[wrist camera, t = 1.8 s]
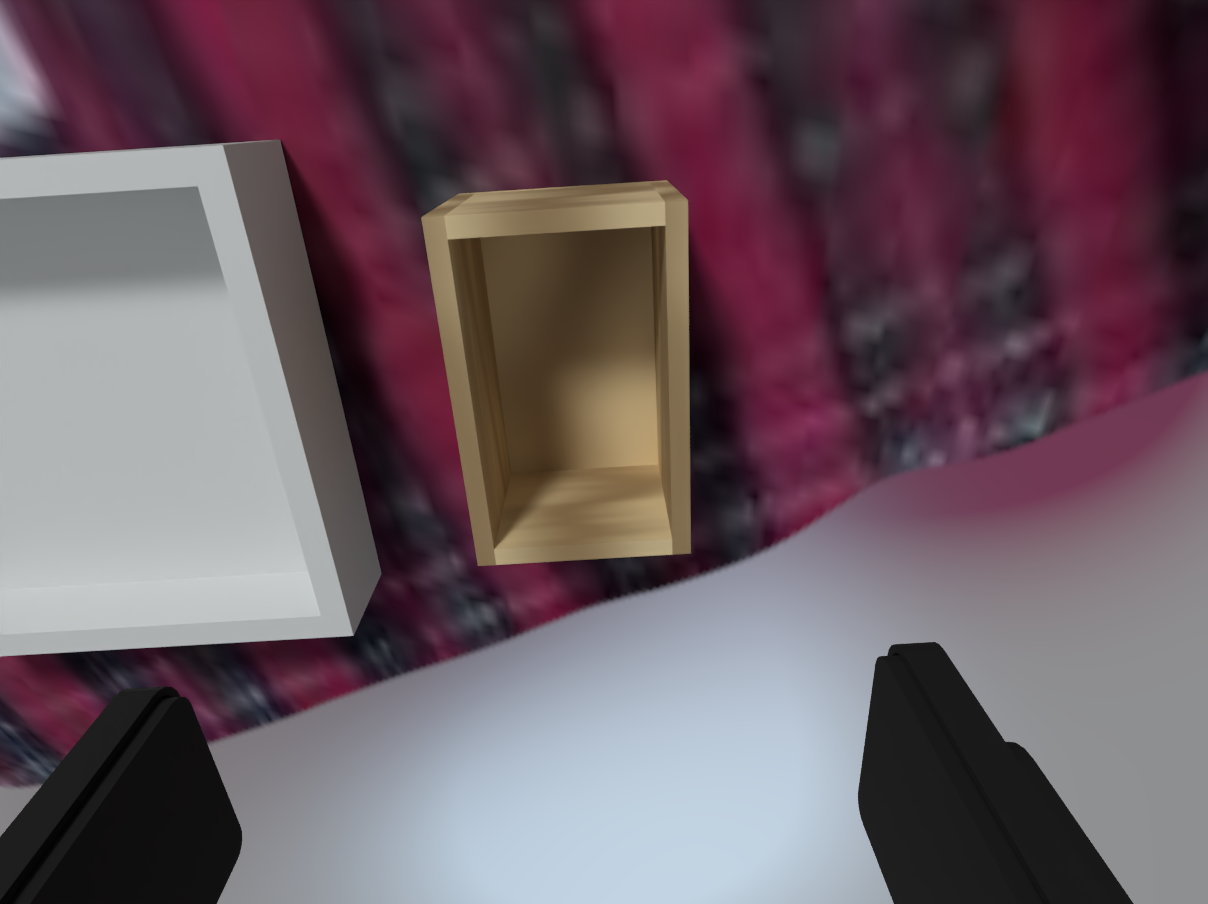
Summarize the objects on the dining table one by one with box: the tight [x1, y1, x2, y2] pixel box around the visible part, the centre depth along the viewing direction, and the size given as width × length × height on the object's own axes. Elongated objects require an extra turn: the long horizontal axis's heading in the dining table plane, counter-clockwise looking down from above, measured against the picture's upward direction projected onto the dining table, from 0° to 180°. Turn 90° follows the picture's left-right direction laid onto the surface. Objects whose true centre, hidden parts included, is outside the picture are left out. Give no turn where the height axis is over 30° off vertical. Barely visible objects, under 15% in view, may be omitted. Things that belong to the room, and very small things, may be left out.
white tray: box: [0, 140, 382, 656], centre depth 25 cm, size 18×17×4 cm
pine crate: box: [421, 180, 691, 566], centre depth 24 cm, size 7×11×6 cm, turn 3°
